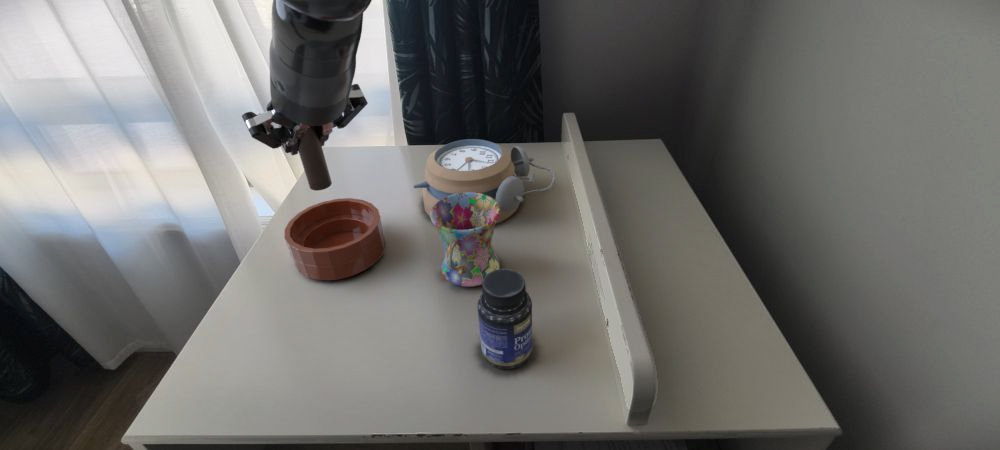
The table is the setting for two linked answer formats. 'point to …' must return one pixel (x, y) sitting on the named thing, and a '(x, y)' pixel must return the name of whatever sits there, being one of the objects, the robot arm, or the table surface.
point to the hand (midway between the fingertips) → (304, 143)
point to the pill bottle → (505, 319)
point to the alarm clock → (478, 174)
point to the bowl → (335, 238)
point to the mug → (467, 236)
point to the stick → (314, 160)
